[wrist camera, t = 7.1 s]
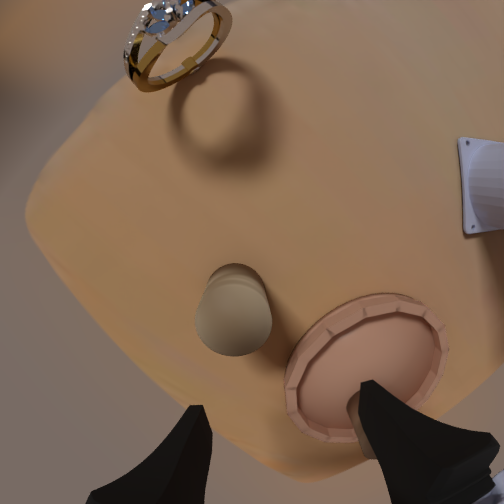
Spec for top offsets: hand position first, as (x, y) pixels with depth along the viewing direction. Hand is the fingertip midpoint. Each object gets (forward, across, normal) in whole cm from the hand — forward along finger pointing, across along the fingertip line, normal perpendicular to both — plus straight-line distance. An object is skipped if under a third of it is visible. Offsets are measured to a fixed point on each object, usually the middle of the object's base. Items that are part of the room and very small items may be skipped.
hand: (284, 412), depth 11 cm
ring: (+10, +3, -19) cm, 21 cm away
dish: (+9, -8, +6) cm, 14 cm away
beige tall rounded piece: (+9, +2, -3) cm, 10 cm away
